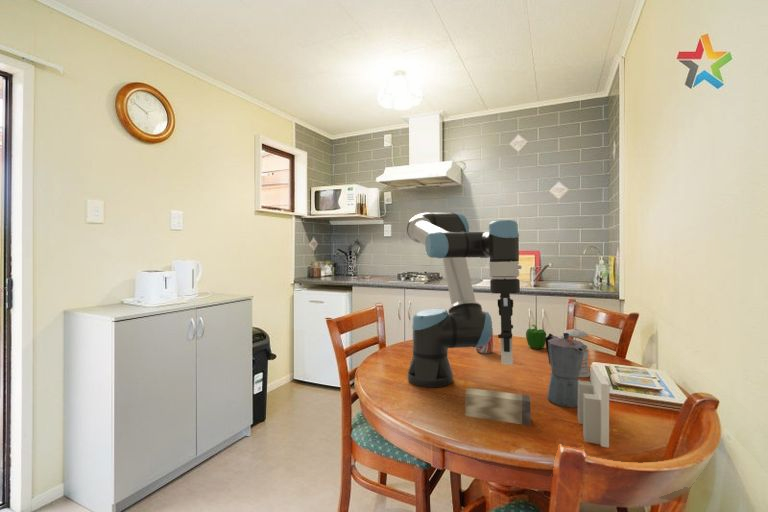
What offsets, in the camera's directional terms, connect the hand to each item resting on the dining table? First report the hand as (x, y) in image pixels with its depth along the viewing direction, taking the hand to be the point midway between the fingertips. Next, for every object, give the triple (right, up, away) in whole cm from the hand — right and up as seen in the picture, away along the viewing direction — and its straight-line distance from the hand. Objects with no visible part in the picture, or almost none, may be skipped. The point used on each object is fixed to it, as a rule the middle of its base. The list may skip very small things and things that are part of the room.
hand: (506, 357), depth 97 cm
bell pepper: (+35, -14, +64) cm, 74 cm away
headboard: (+17, -15, -9) cm, 24 cm away
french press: (+34, -14, +32) cm, 49 cm away
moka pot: (+19, -15, +8) cm, 25 cm away
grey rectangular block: (-3, -15, -2) cm, 15 cm away
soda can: (+10, -14, +59) cm, 61 cm away
